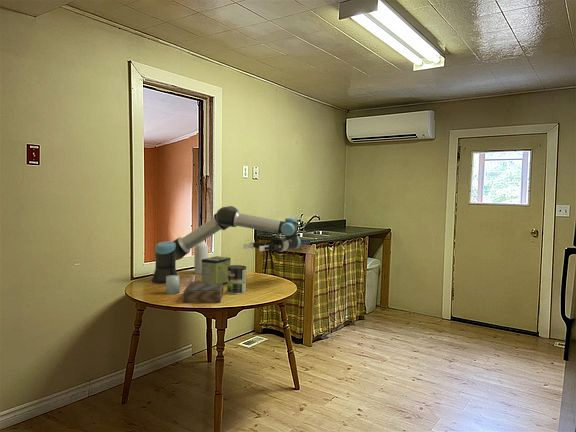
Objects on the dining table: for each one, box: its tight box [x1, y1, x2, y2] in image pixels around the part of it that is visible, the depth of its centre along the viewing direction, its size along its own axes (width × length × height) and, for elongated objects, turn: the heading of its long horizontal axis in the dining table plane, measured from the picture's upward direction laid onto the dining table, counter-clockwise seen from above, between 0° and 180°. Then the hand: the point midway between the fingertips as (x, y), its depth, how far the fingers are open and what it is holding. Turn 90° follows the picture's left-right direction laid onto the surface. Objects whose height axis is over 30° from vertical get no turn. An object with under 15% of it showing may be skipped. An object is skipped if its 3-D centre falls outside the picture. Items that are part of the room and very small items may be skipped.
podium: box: [182, 282, 224, 304], centre depth 218 cm, size 18×18×6 cm
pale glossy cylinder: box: [165, 274, 181, 295], centre depth 229 cm, size 7×7×9 cm
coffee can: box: [226, 264, 247, 295], centre depth 233 cm, size 10×10×14 cm
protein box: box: [200, 255, 231, 286], centre depth 252 cm, size 10×16×16 cm
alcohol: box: [193, 239, 209, 275], centre depth 285 cm, size 9×9×30 cm
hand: (251, 247), depth 239 cm, fingers open, 13 cm apart
